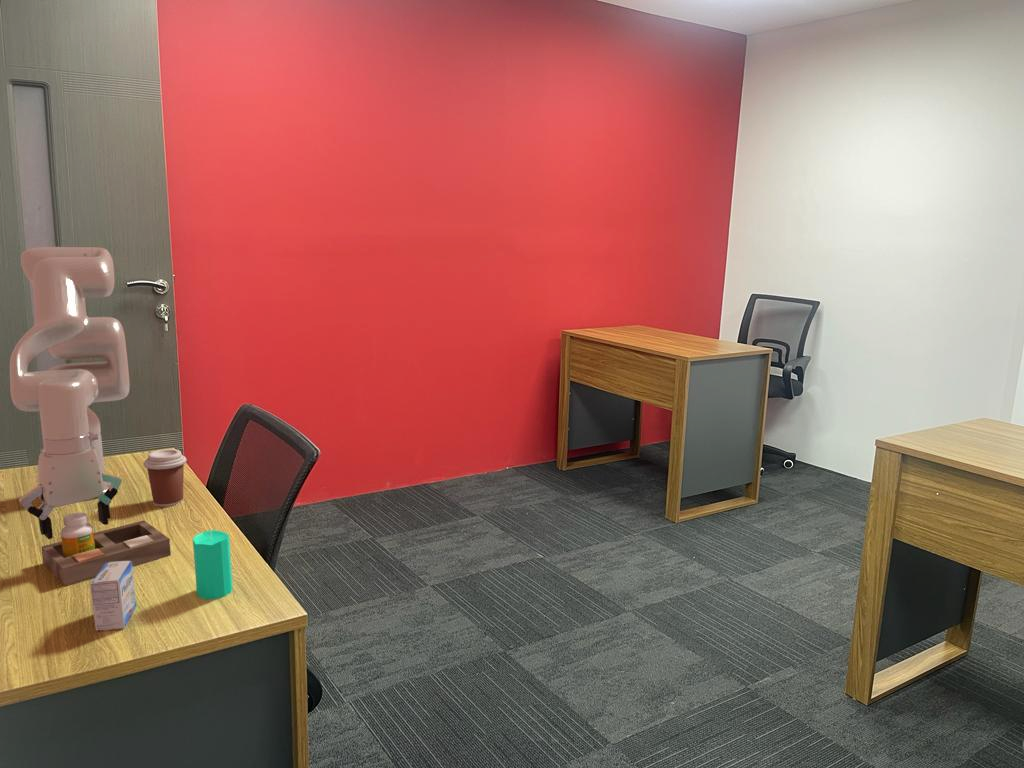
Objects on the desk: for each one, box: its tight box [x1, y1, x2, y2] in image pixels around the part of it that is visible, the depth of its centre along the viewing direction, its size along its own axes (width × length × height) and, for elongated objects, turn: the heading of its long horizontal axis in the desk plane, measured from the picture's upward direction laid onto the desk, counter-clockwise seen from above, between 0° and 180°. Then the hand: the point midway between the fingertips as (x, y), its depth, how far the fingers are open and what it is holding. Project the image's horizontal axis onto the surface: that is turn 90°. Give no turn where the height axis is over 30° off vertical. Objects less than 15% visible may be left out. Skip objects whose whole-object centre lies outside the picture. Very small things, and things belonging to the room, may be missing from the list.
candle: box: [192, 528, 234, 600], centre depth 137 cm, size 6×6×12 cm
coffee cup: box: [143, 448, 187, 508], centre depth 179 cm, size 9×9×12 cm
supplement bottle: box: [60, 512, 95, 558], centre depth 147 cm, size 5×5×10 cm
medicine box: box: [89, 561, 137, 632], centre depth 127 cm, size 8×4×9 cm, turn 12°
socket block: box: [41, 520, 172, 587], centre depth 149 cm, size 13×19×4 cm
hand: (76, 529), depth 147 cm, fingers open, 9 cm apart
